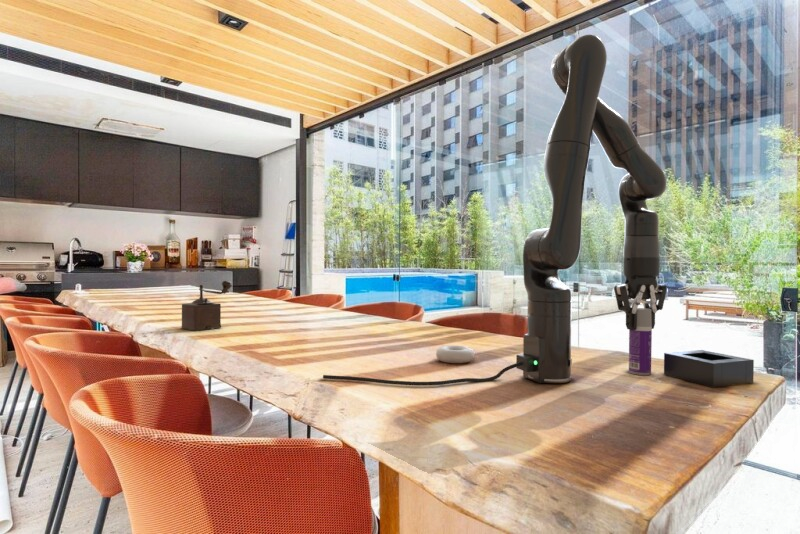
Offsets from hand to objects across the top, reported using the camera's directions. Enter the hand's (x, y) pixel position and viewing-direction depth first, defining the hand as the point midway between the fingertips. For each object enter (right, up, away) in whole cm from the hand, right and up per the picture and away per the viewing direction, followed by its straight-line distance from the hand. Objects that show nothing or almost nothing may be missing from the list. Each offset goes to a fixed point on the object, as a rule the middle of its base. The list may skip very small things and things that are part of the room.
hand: (640, 328), depth 112 cm
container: (0, -11, 0) cm, 11 cm away
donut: (-42, -10, +13) cm, 45 cm away
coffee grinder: (-129, -9, +71) cm, 148 cm away
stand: (+12, -10, -5) cm, 17 cm away
